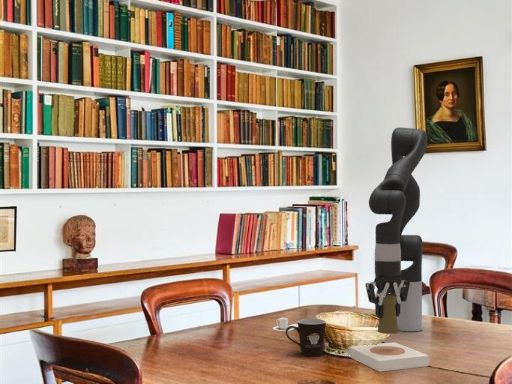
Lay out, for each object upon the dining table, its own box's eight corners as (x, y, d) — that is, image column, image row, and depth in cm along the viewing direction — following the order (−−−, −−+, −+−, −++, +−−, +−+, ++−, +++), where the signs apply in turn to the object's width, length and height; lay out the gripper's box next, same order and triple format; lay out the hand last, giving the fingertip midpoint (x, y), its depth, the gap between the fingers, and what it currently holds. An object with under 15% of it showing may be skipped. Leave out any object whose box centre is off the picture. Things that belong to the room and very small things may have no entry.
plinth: (348, 356, 219) (348, 345, 219) (394, 351, 225) (394, 341, 225) (379, 371, 202) (379, 359, 202) (428, 366, 208) (428, 354, 208)
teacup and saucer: (301, 329, 261) (301, 317, 260) (290, 333, 254) (290, 321, 254) (279, 326, 265) (279, 315, 265) (268, 330, 259) (268, 319, 258)
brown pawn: (398, 334, 210) (398, 296, 209) (377, 333, 211) (377, 295, 211) (398, 329, 215) (398, 292, 215) (377, 329, 217) (377, 292, 216)
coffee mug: (328, 351, 225) (328, 319, 225) (322, 358, 217) (322, 325, 217) (292, 349, 229) (292, 317, 229) (284, 355, 221) (284, 322, 221)
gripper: (402, 256, 219) (402, 313, 219) (359, 258, 214) (359, 316, 214) (416, 259, 212) (416, 317, 212) (372, 261, 207) (372, 321, 207)
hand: (387, 316), depth 213 cm, fingers closed on brown pawn, 5 cm apart
